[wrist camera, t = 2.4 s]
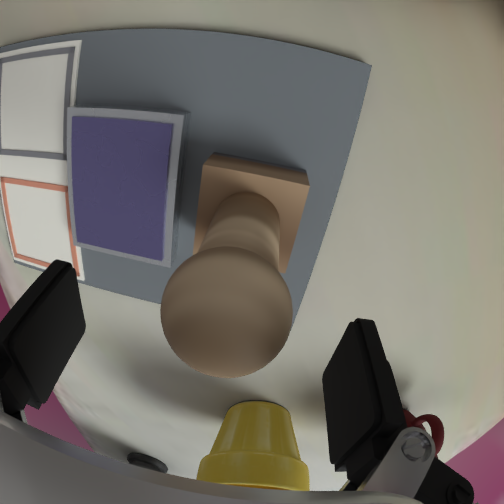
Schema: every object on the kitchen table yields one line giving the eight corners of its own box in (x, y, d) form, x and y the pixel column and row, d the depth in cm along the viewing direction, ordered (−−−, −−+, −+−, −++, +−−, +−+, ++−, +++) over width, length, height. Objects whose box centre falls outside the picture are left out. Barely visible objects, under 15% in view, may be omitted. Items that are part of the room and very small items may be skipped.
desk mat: (3, 47, 13) (-3, 47, 13) (368, 65, 14) (371, 65, 13) (18, 258, 23) (14, 262, 22) (290, 324, 23) (290, 330, 23)
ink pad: (80, 103, 15) (65, 107, 14) (191, 112, 15) (182, 115, 14) (83, 235, 20) (72, 246, 19) (177, 255, 20) (169, 269, 19)
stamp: (213, 151, 16) (121, 270, 7) (306, 170, 17) (335, 314, 7) (202, 232, 19) (136, 388, 10) (285, 249, 19) (282, 418, 10)
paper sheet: (-1, 53, 13) (-4, 53, 13) (82, 39, 13) (79, 39, 13) (15, 258, 22) (13, 260, 22) (84, 279, 22) (83, 281, 22)
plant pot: (319, 393, 28) (322, 487, 19) (299, 438, 33) (297, 511, 25) (209, 382, 28) (188, 476, 20) (212, 429, 33) (198, 502, 25)
